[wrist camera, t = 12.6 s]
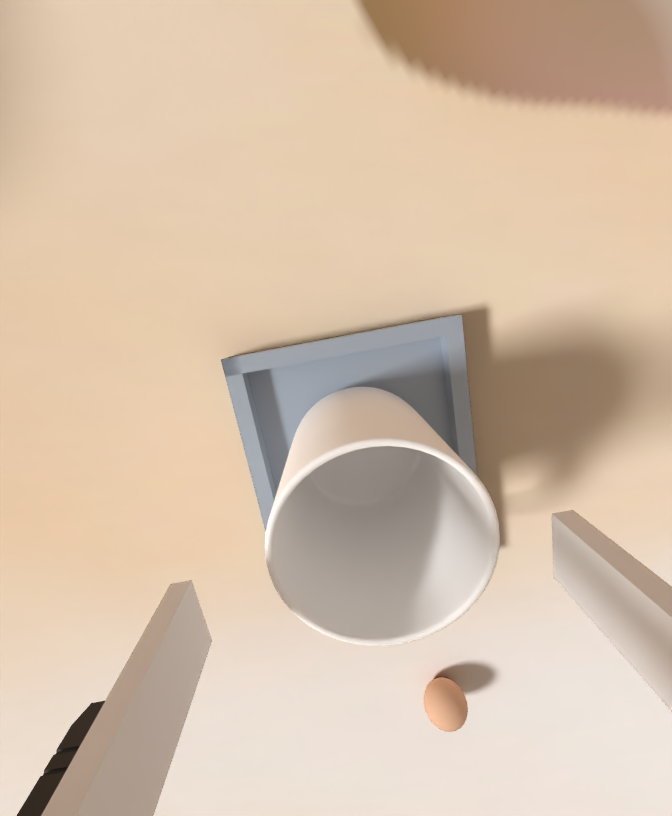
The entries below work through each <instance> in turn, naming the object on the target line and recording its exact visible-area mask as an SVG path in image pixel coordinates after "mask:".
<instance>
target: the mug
mask: <svg viewBox="0 0 672 816" xmlns="http://www.w3.org/2000/svg"><path fill="white" fill-rule="evenodd" d="M499 544H500V532H499V522H498V517H497V513H496V509H495V507H494V504H493V502H492V499H491V497H490V495H489V493H488V491H487V490H486V488H485V486H484V485H483V483H482V482H481V481H480V480H479V478H478V477H477V476H476V475H475V473H474V472H473V471H472V470H471V469H470V468H469V467H468V466H467V465H466V464H465V463H464V462H463V461H462V460H461V458H460V457H459V456H458V455H457V454H456V453H455V452H454V451H453V450H452V449H451V448H450V447H449V446H448V445H447V444H446V442H445V441H444V440H443V439H442V438H441V437H440V436H439V435H438V434H437V433H436V432H435V431H434V430H433V429H432V428H431V427H430V425H429V424H428V423H427V422H426V421H425V420H424V419H423V418H422V417H421V416H420V415H419V414H418V413H417V412H416V411H415V410H414V409H413V408H412V407H411V406H410V405H409V404H408V403H407V402H405V401H404V400H402V399H401V398H400V397H398V396H396V395H394V394H392V393H390V392H388V391H385V390H382V389H378V388H373V387H351V388H346V389H342V390H339V391H336V392H334V393H332V394H329V395H327V396H326V397H324V398H323V399H321V400H320V401H318V402H317V403H316V404H315V405H314V406H313V407H312V408H311V409H310V410H309V411H308V412H307V413H306V415H305V416H304V417H303V419H302V420H301V422H300V424H299V426H298V428H297V430H296V433H295V436H294V439H293V442H292V445H291V448H290V451H289V455H288V458H287V461H286V464H285V467H284V471H283V474H282V477H281V480H280V484H279V487H278V490H277V493H276V497H275V500H274V503H273V506H272V510H271V513H270V516H269V519H268V524H267V529H266V534H265V555H266V563H267V567H268V570H269V574H270V577H271V579H272V582H273V584H274V586H275V588H276V590H277V592H278V593H279V595H280V597H281V598H282V600H283V601H284V602H285V604H286V605H287V606H288V607H289V609H290V610H291V611H292V612H293V613H294V614H295V615H296V616H298V617H299V618H300V619H301V620H302V621H304V622H305V623H306V624H308V625H309V626H310V627H312V628H314V629H316V630H317V631H319V632H321V633H323V634H325V635H327V636H330V637H332V638H335V639H338V640H341V641H345V642H348V643H354V644H360V645H371V646H385V645H396V644H402V643H407V642H411V641H415V640H418V639H421V638H424V637H426V636H429V635H432V634H434V633H436V632H438V631H440V630H442V629H443V628H445V627H447V626H448V625H450V624H451V623H453V622H454V621H456V620H457V619H458V618H460V617H461V616H462V615H463V614H464V613H465V612H467V611H468V610H469V609H470V607H471V606H472V605H473V604H474V603H475V602H476V601H477V600H478V598H479V597H480V596H481V594H482V593H483V591H484V590H485V588H486V586H487V585H488V583H489V581H490V579H491V577H492V574H493V572H494V569H495V566H496V563H497V558H498V554H499Z"/></svg>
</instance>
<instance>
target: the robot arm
mask: <svg viewBox="0 0 672 816" xmlns="http://www.w3.org/2000/svg"><path fill="white" fill-rule="evenodd" d="M552 540H553V572H554V579H555V580H556V581H557V582H558V583H559V584H560V586H561V587H562V588H563V589H564V590H565V591H566V592H567V594H568V595H569V596H570V597H571V598H572V599H573V600H574V601H575V603H576V604H577V605H578V606H579V607H580V608H581V609H582V611H583V612H584V613H585V614H586V615H587V616H588V617H589V618H590V620H591V621H592V622H593V623H594V624H595V625H596V626H597V628H598V629H599V630H600V631H601V632H602V633H603V634H604V635H605V637H606V638H607V639H608V640H609V641H610V642H611V643H612V645H613V646H614V647H615V648H616V649H617V650H618V651H619V652H620V654H621V655H622V656H623V657H624V658H625V659H626V660H627V662H628V663H629V664H630V665H631V666H632V667H633V668H634V669H635V671H636V672H637V673H638V674H639V675H640V676H641V677H642V679H643V680H644V681H645V682H646V683H647V684H648V685H649V686H650V688H651V689H652V690H653V691H654V692H655V693H656V694H657V696H658V697H659V698H660V699H661V700H662V701H663V702H664V703H665V705H666V706H667V707H668V708H669V709H670V710H671V711H672V586H670V585H669V584H668V583H666V582H665V581H664V580H662V579H661V578H660V577H659V576H657V575H656V574H655V573H653V572H652V571H651V570H650V569H648V568H647V567H646V566H644V565H643V564H642V563H641V562H639V561H638V560H637V559H635V558H634V557H633V556H632V555H630V554H629V553H628V552H626V551H625V550H624V549H623V548H621V547H620V546H619V545H617V544H616V543H615V542H614V541H612V540H611V539H610V538H608V537H607V536H606V535H605V534H603V533H602V532H601V531H599V530H598V529H597V528H596V527H594V526H593V525H592V524H590V523H589V522H588V521H587V520H585V519H584V518H583V517H581V516H580V515H579V514H578V513H576V512H575V511H574V510H570V511H564V512H559V513H553V514H552ZM211 642H212V639H211V636H210V633H209V630H208V627H207V624H206V622H205V619H204V616H203V613H202V610H201V607H200V604H199V601H198V598H197V595H196V592H195V589H194V586H193V583H192V581H185V582H180V583H174V584H170V586H169V588H168V590H167V591H166V593H165V595H164V597H163V599H162V600H161V602H160V604H159V606H158V608H157V609H156V611H155V613H154V615H153V617H152V618H151V620H150V622H149V624H148V625H147V627H146V629H145V631H144V633H143V634H142V636H141V638H140V640H139V642H138V643H137V645H136V647H135V649H134V651H133V652H132V654H131V656H130V658H129V659H128V661H127V663H126V665H125V667H124V668H123V670H122V672H121V674H120V676H119V677H118V679H117V681H116V683H115V684H114V686H113V688H112V690H111V692H110V693H109V695H108V697H107V699H106V701H101V702H96V703H91V704H90V706H89V707H88V708H87V709H86V710H85V711H84V712H83V713H82V714H81V716H80V717H79V718H78V719H77V720H76V721H75V722H74V723H73V724H72V726H71V727H70V729H69V730H68V732H67V734H66V735H65V737H64V739H63V740H62V742H61V744H60V745H59V747H58V749H57V753H56V754H55V755H53V757H52V758H51V760H50V762H49V763H48V765H47V767H46V768H45V770H44V774H43V776H41V777H40V778H39V780H38V781H37V783H36V785H35V786H34V788H33V790H32V791H31V793H30V795H29V796H28V798H27V800H26V801H25V803H24V805H23V806H22V808H21V809H20V811H19V813H18V814H17V816H153V815H154V812H155V809H156V806H157V803H158V800H159V797H160V794H161V791H162V788H163V785H164V782H165V779H166V776H167V773H168V770H169V767H170V764H171V761H172V758H173V755H174V752H175V749H176V746H177V743H178V740H179V737H180V734H181V731H182V728H183V725H184V722H185V720H186V717H187V714H188V711H189V708H190V705H191V702H192V699H193V696H194V693H195V690H196V687H197V684H198V681H199V678H200V675H201V672H202V669H203V666H204V663H205V660H206V657H207V654H208V651H209V648H210V645H211Z"/></svg>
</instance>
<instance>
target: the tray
mask: <svg viewBox="0 0 672 816" xmlns="http://www.w3.org/2000/svg"><path fill="white" fill-rule="evenodd" d="M221 362H222V366H223V370H224V373H225V377H226V381H227V385H228V389H229V393H230V396H231V400H232V404H233V408H234V412H235V416H236V419H237V423H238V427H239V431H240V435H241V439H242V442H243V446H244V450H245V454H246V458H247V462H248V465H249V469H250V473H251V477H252V481H253V485H254V488H255V492H256V496H257V500H258V504H259V508H260V511H261V515H262V519H263V523H264V527H265V531H266V529H267V524H268V519H269V516H270V513H271V510H272V506H273V503H274V500H275V497H276V493H277V490H278V487H279V484H280V480H281V477H282V474H283V471H284V467H285V464H286V461H287V458H288V455H289V451H290V448H291V445H292V442H293V439H294V436H295V433H296V430H297V428H298V426H299V424H300V422H301V420H302V419H303V417H304V416H305V415H306V413H307V412H308V411H309V410H310V409H311V408H312V407H313V406H314V405H315V404H316V403H317V402H318V401H320V400H321V399H323V398H324V397H326V396H327V395H329V394H332V393H334V392H336V391H339V390H342V389H346V388H351V387H373V388H378V389H382V390H385V391H388V392H390V393H392V394H394V395H396V396H398V397H400V398H401V399H402V400H404V401H405V402H407V403H408V404H409V405H410V406H411V407H412V408H413V409H414V410H415V411H416V412H417V413H418V414H419V415H420V416H421V417H422V418H423V419H424V420H425V421H426V422H427V423H428V424H429V425H430V427H431V428H432V429H433V430H434V431H435V432H436V433H437V434H438V435H439V436H440V437H441V438H442V439H443V440H444V441H445V442H446V444H447V445H448V446H449V447H450V448H451V449H452V450H453V451H454V452H455V453H456V454H457V455H458V456H459V457H460V458H461V460H462V461H463V462H464V463H465V464H466V465H467V466H468V467H469V468H470V469H471V470H472V471H473V472H474V473H475V475H476V476H477V468H476V457H475V447H474V436H473V426H472V416H471V405H470V395H469V385H468V374H467V364H466V354H465V343H464V333H463V322H462V315H449V316H444V317H438V318H433V319H428V320H422V321H417V322H412V323H406V324H401V325H396V326H390V327H385V328H380V329H375V330H369V331H364V332H359V333H353V334H348V335H343V336H337V337H332V338H327V339H321V340H316V341H311V342H305V343H300V344H295V345H290V346H284V347H279V348H274V349H268V350H263V351H258V352H252V353H247V354H242V355H236V356H231V357H228V358H225V359H222V360H221ZM284 603H285V602H284Z"/></svg>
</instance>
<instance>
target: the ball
mask: <svg viewBox="0 0 672 816" xmlns="http://www.w3.org/2000/svg"><path fill="white" fill-rule="evenodd" d="M424 707H425V710H426V713H427V715H428V717H429V719H430V720H431V722H432V723H433V724H434V725H435V726H436V727H437V728H439V729H441V730H443V731H446V732H453V731H456V730H458V729H460V728H461V727H462V726H463V724H464V723H465V721H466V718H467V712H468V708H467V701H466V698H465V695H464V693H463V691H462V690H461V688H460V687H459V686H458V685H457V684H456V683H455V682H453V681H452V680H450V679H448V678H442V677H440V678H436V679H434V680H432V681H431V682H430V683H429V684H428V686H427V687H426V690H425V693H424Z"/></svg>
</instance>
